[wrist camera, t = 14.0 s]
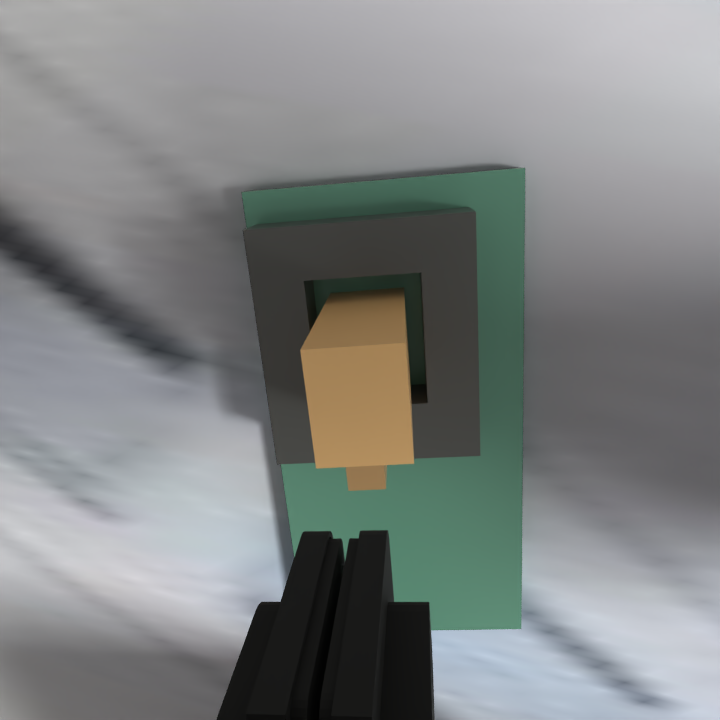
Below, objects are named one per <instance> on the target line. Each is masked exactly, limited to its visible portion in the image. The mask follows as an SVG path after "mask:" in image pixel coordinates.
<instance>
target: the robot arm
mask: <svg viewBox="0 0 720 720" xmlns="http://www.w3.org/2000/svg"><path fill="white" fill-rule="evenodd" d="M217 720H434V689H433V662H432V640H431V621H430V605H429V602H394V592H393V580H392V567H391V554H390V542H389V533H388V530H362V531H360V533H359V538H350V539H349V542H348V548H347V553H346V559H345V557H344V548H343V541H342V539H341V538H337V539H333V535H332V532H331V531H304V532H303V533H302V535H301V538H300V541H299V544H298V548H297V551H296V554H295V557H294V560H293V564H292V567H291V570H290V573H289V576H288V580H287V583H286V586H285V589H284V593H283V596H282V599H281V602H261V603H260V604H259V605H258V607H257V609H256V611H255V614H254V617H253V620H252V623H251V625H250V628H249V631H248V634H247V636H246V639H245V642H244V645H243V647H242V650H241V653H240V656H239V659H238V661H237V664H236V667H235V670H234V672H233V675H232V678H231V681H230V684H229V686H228V689H227V692H226V695H225V697H224V700H223V703H222V706H221V708H220V711H219V714H218V717H217Z"/></svg>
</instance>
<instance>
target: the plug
mask: <svg viewBox="0 0 720 720" xmlns="http://www.w3.org/2000/svg"><path fill="white" fill-rule="evenodd" d="M300 352H301V359H302V367H303V374H304V382H305V389H306V397H307V404H308V412H309V419H310V427H311V434H312V442H313V449H314V457H315V464H316V469H318V468H338V467H346V474H347V483H348V491H357V490H378V489H386V478H387V465H398V464H414V449H413V427H412V405H411V383H410V366H409V352H408V338H407V324H406V309H405V295H404V287H402V288H389V289H376V290H364V291H351V292H338V293H330V295H329V297H328V299H327V301H326V302H325V304H324V306H323V308H322V310H321V312H320V314H319V316H318V318H317V319H316V321H315V323H314V325H313V327H312V329H311V331H310V333H309V335H308V336H307V338H306V340H305V342H304V344H303V346H302V348H301V350H300Z"/></svg>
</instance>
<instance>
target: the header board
mask: <svg viewBox="0 0 720 720" xmlns="http://www.w3.org/2000/svg"><path fill="white" fill-rule="evenodd" d="M242 199H243V206H244V213H245V220H246V227H247V229H244V230H243V234H244V241H245V248H246V255H247V262H248V268H249V275H250V282H251V289H252V296H253V303H254V309H255V316H256V323H257V330H258V337H259V343H260V350H261V357H262V364H263V371H264V378H265V384H266V391H267V398H268V405H269V412H270V418H271V425H272V432H273V439H274V446H275V453H276V459H277V465H278V464H281V469H282V476H283V483H284V490H285V497H286V504H287V511H288V518H289V525H290V531H291V538H292V545H293V552H294V557H295V554H296V551H297V548H298V544H299V541H300V538H301V535H302V533H303V532H304V531H331V532H332V535H333V539H337V538H341V539H342V541H343V548H344V557H345V559H346V553H347V548H348V542H349V539H350V538H359V533H360V531H362V530H388V533H389V542H390V554H391V567H392V580H393V592H394V602H429V605H430V621H431V630H481V629H521V591H522V472H523V352H524V233H525V168H511V169H499V170H488V171H476V172H465V173H453V174H441V175H430V176H418V177H406V178H395V179H383V180H371V181H360V182H348V183H337V184H325V185H313V186H302V187H290V188H278V189H267V190H255V191H246V192H242ZM402 287H404V295H405V309H406V324H407V338H408V352H409V366H410V383H411V405H412V427H413V449H414V464H398V465H387V478H386V489H378V490H357V491H348V483H347V474H346V467H338V468H318V469H316V464H315V457H314V449H313V442H312V434H311V427H310V419H309V412H308V404H307V397H306V389H305V382H304V374H303V367H302V359H301V352H300V350H301V348H302V346H303V344H304V342H305V340H306V338H307V336H308V335H309V333H310V331H311V329H312V327H313V325H314V323H315V321H316V319H317V318H318V316H319V314H320V312H321V310H322V308H323V306H324V304H325V302H326V301H327V299H328V297H329V295H330V293H338V292H351V291H364V290H376V289H389V288H402Z"/></svg>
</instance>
